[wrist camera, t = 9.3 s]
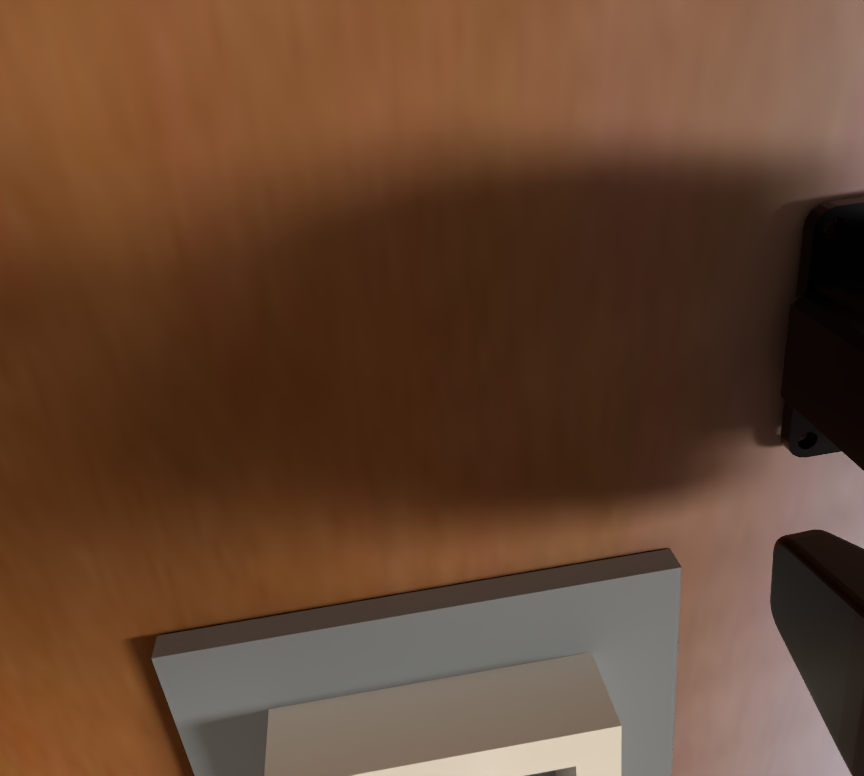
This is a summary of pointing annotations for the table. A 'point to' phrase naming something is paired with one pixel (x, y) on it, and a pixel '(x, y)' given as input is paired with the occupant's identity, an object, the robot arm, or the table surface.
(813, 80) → the table surface
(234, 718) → the socket
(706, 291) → the table surface
